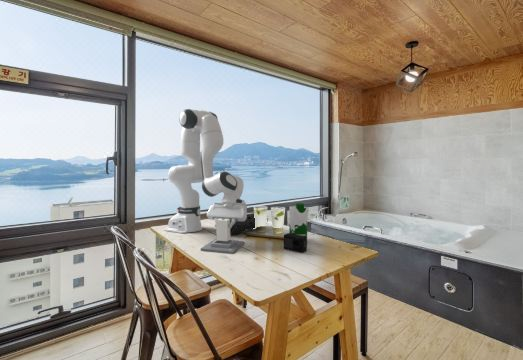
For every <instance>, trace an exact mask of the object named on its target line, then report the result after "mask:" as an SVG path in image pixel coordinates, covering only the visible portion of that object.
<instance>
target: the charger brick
mask: <svg viewBox="0 0 523 360" xmlns="http://www.w3.org/2000/svg"><path fill="white" fill-rule="evenodd" d="M229 223H230V219H224V218H219V219H217V220H216V227H215V228H216V239H217V240H218V241H228V240H231V235H230V230H231V229H230V228H228V224H229Z"/></svg>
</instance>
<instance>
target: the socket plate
mask: <svg viewBox="0 0 523 360" xmlns="http://www.w3.org/2000/svg"><path fill="white" fill-rule="evenodd" d="M244 244H245V241H243V240H242V241H241V240H235V239H230V240H228V241H218V240H217V238H214V239H212V240H211V241H210V242H208V243H207V244H205V245H204V246H202V247H201V248H200V251H201V252H202V251H203V252H211V253H222V254H231V255H232V254H235V252H236V251H237V250H239V248H241V247H242V246H243V245H244Z"/></svg>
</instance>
